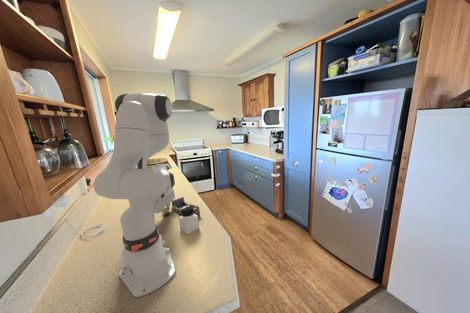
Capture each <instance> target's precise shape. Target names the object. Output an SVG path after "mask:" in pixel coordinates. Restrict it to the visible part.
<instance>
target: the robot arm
mask: <svg viewBox="0 0 470 313" xmlns="http://www.w3.org/2000/svg"><path fill="white" fill-rule="evenodd" d="M114 101H115V102H114V108H115V110H116V113H117V114H116V117H115V125H114V127H115V128H114V141H113V142H114V143H113V151H112V155H111V157H110V159H109V162H108V164H107V165H106V167H105V168H104V169H103V170H102V171H101V172H100V173H99V174H97V176H96V177H95V178H94V182H93V190H94V192H95V194H96V195H98V196H99V197H103V198H105V199H109V200H127V201H128V204H129V207H128V208H127V209H125V210H124V211H123V213H122V214H121V216H120V218H119V221H120V226H121V230H122V231H121V232H122V244H123V246H124V247H123V250H122V251H121V252H120V256H121V261H122V266H123V268H121V270H119V272H118V277H119V279H120V280H121V281H122V282H123V284H124V285H125V286H126V287H127V289H128V290H129V292H130V293H131V294H132V296H133V297H134V298H140V297H144V296H146V295H148V294H150V293H152V292H154V291H156V290H158V289H159V288H161V287H163V286H164V285H165V284H166V283H168V282H169V281H170V280H171V279H173V277H174V276H175V274H176V273H177V271H176V268H175V264H174V260H173V258H172V257H173V256H172V252H171V249H170V247H166V246H164V245H166V240H163V238H162V234H161V233H159V228H158V225H157V224H156V221H155V220H156V218H155V214H160V213H161V215H162V216H163V215H165V214H166V211H164V209H165V208H167V209H168V210H169V211H170V209H171V207H170V206H171V201H172V200H175V197H176V194H175V190H174V186H175V185H176V184H175V183H176V181H175V175H174V174H173V173H172V172H170V171H169V170H168V167H167V164H166V163H158V164H154V165H152V166H151V168H148V166H147V164H148V161H149V160H150V158H152V157H153V156H155V155H156V154H158V153H160V152H162V151H164V150H165V149H166V148H167V146H168V145H169V144H170V131H169V126H168V122H167V120H169V118H170V117H171V116H172V113H173V105H172V101H171V100H170V98H169V97H168V96H167V95H166V94H161V93H156V94H155V93H144V92H137V93H124V94H123V93H122V94H120V95H118V96H117V97H116V99H115V100H114Z"/></svg>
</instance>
